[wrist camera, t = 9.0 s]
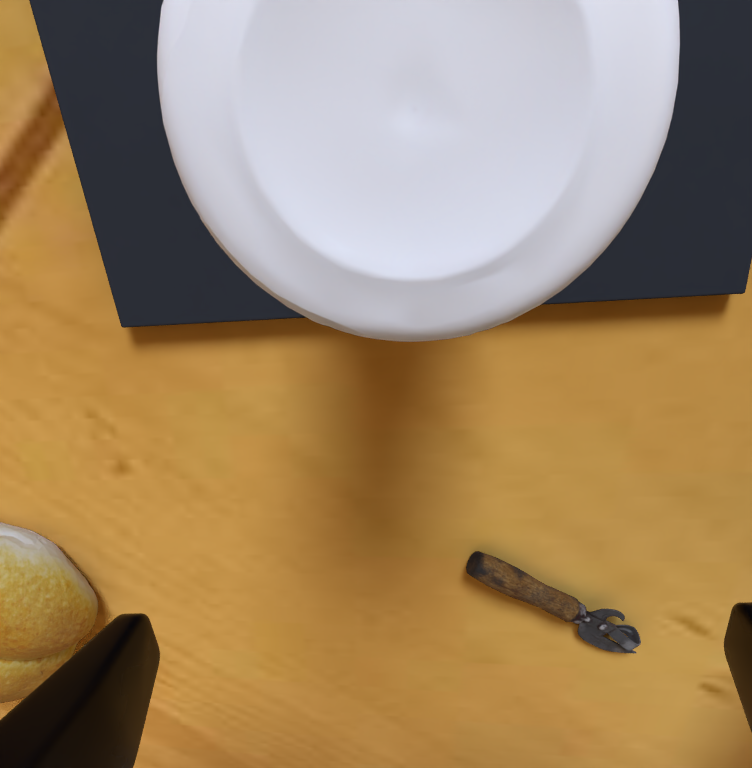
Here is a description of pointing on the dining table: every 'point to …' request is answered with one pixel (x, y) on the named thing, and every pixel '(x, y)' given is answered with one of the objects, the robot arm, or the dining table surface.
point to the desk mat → (250, 302)
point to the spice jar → (416, 147)
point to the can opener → (554, 603)
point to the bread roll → (38, 610)
